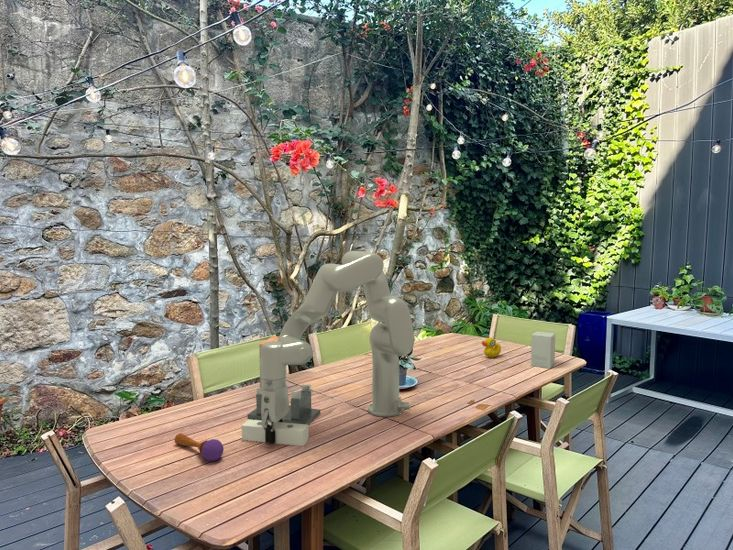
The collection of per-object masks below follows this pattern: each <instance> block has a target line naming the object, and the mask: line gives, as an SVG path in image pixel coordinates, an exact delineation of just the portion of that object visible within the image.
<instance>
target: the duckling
mask: <svg viewBox="0 0 733 550" xmlns="http://www.w3.org/2000/svg"><path fill="white" fill-rule="evenodd" d="M481 344H482V346H483V347H485V348H484V349H483V350H484V351H483V354H484V355H485V356H486V357H487V358H489V359H493V358H497V357H498V356H499V355H500V354H501V351H502V346H501V345H500V343H497V340H496V339H495V338H493V337H487V338H486V339H485V340H482V341H481Z"/></svg>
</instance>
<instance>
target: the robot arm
mask: <svg viewBox="0 0 733 550" xmlns="http://www.w3.org/2000/svg"><path fill="white" fill-rule="evenodd" d="M341 258H342V259H341V264H339V263H326V264H325V263H324V264H323V265H322V266H320V268H319V269H318V271H317V273H316V275H315V277H314V279H313V280H312V281H313V282H312V283H311V286H310V288H309V289H308V292H307V294H306V296H305V299H304V301H303V302H302V304H301V305H300V306H299V307H298V308H297V309H296V310H295V311H294V312H293V313H292V314H291V316H290V317H288V319H287V320H286V322H285V323H284V325H283V327H282V330H281V331H280V334H279V335H278V336H279V338H278V341H272V342H266V343H264V344H263V345H262V347H261V372H262V389H263V391H262V403H261V415H262V422H261V426H263V428H264V430H265V442H264V443H268V444H276V443H275V430H274V426H275V423H276V422H285V415H286V414H288V412H289V406H290V401H289V399H290V398H289V389H288V385H287V366H302V365H304V364H307V363H308V362H310V360H311V359H312V358H313V355H314V350H313V347H312V346H311V344H310V343H308V342H307V341H305V340H303V339H301V338H302V336H303V334H304V333H305V331H306V329H307V328H308V327H309V326H311V325H312V324H313V323H315V322H316V321H319V320H321V319H323V318H325V317H326V316H327V315H328V313H329V312H330V310H331V307H332V305H333V302H334V301H335V298H336V296H337V294H338V292H339V293H348V292H351V291H353V290H355V289H357V288H359V287H361V286H362V287H363V291H364V296H365V301H366V305H367V311H368V314H369V316H370V318H371V319H372V320H373V321H376V322H378V323H376V324H375V325H374V326H373V327H372V328H371V331H370V333H369V342H370V343H369V344H370V348H371V356H372V357H371V358H372V359H371V360H372V361H371V362H372V364H371V365H372V367H371V368H372V370H371V371H372V375H371V376H372V382H371V383H372V385H371V386H372V397H371V399H372V401H371V402H372V403H370V404H368V406H367V411H368V413H370V414H371V415H373V416H376V417H383V418H385V417H386V418H387V417H388V418H389V417H395V416H399V415H401V414H402V413H403V412H404V410H409V411H410V410H411V406H412V405H411V403H410V401H403V400H402V397H401V396H400V359H399V357H404V356H405V357H406V356H407V355H409V354H410V353H411V352H412V351H413V348H414V345H415V334H414V328H413V321H412V317H411V312H410V308H409V306H408V304H407V303H406V302H405V300H403V299H401V298H399V297H397V296H392V294H391V291H390V287H389V283H388V279H387V277H386V274H385V272H384V260H383V258H382V257H381V256H380V255H379V254H377V253H375V252H371V251H363V250H362V251H361V250H350V251H347V252H346V253H344V255H343V256H342V257H341ZM400 413H401V414H400ZM398 414H399V415H398ZM268 418H270V419H271V420H268ZM268 422H270V423H271V426H270V425H269V424H268Z"/></svg>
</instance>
